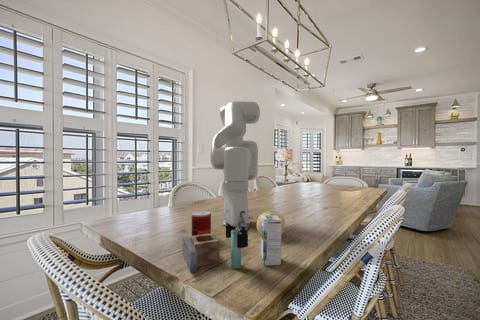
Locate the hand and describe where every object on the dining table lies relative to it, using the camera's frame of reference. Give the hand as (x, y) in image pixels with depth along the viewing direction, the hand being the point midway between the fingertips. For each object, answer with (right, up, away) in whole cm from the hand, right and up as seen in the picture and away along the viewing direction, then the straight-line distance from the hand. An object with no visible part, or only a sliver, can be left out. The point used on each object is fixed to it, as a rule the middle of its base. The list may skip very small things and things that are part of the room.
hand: (236, 242), depth 72 cm
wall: (-15, -8, +3) cm, 17 cm away
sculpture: (+14, -8, +28) cm, 32 cm away
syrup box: (+11, -8, +4) cm, 14 cm away
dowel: (0, -8, +1) cm, 8 cm away
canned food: (-15, -8, +24) cm, 29 cm away
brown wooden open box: (-11, -8, +5) cm, 14 cm away
